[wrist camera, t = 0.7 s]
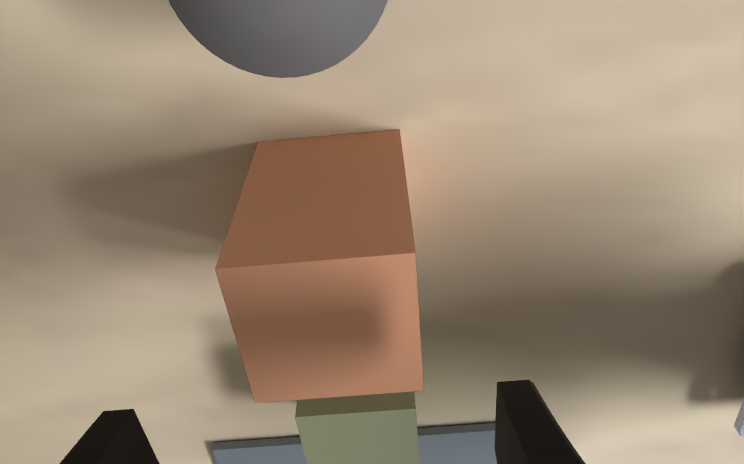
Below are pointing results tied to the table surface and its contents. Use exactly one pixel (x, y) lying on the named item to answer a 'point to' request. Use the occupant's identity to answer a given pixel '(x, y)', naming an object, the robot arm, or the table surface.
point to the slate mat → (436, 447)
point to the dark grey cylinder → (280, 31)
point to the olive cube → (359, 429)
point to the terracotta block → (324, 269)
